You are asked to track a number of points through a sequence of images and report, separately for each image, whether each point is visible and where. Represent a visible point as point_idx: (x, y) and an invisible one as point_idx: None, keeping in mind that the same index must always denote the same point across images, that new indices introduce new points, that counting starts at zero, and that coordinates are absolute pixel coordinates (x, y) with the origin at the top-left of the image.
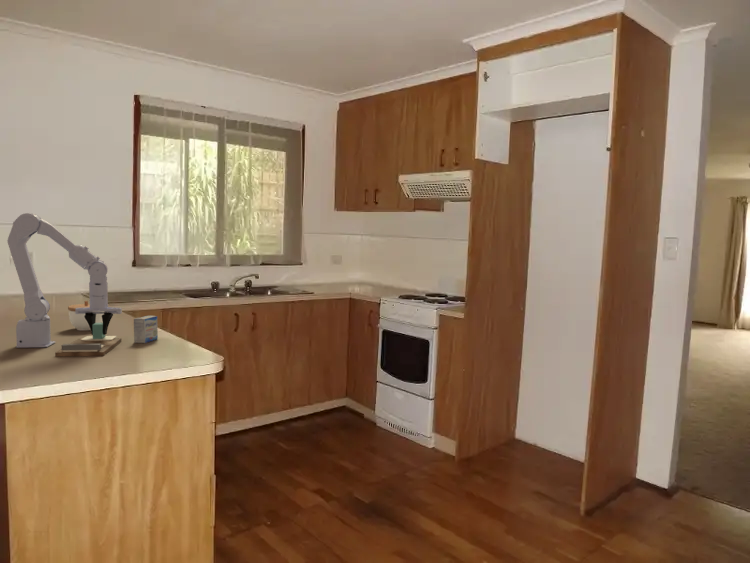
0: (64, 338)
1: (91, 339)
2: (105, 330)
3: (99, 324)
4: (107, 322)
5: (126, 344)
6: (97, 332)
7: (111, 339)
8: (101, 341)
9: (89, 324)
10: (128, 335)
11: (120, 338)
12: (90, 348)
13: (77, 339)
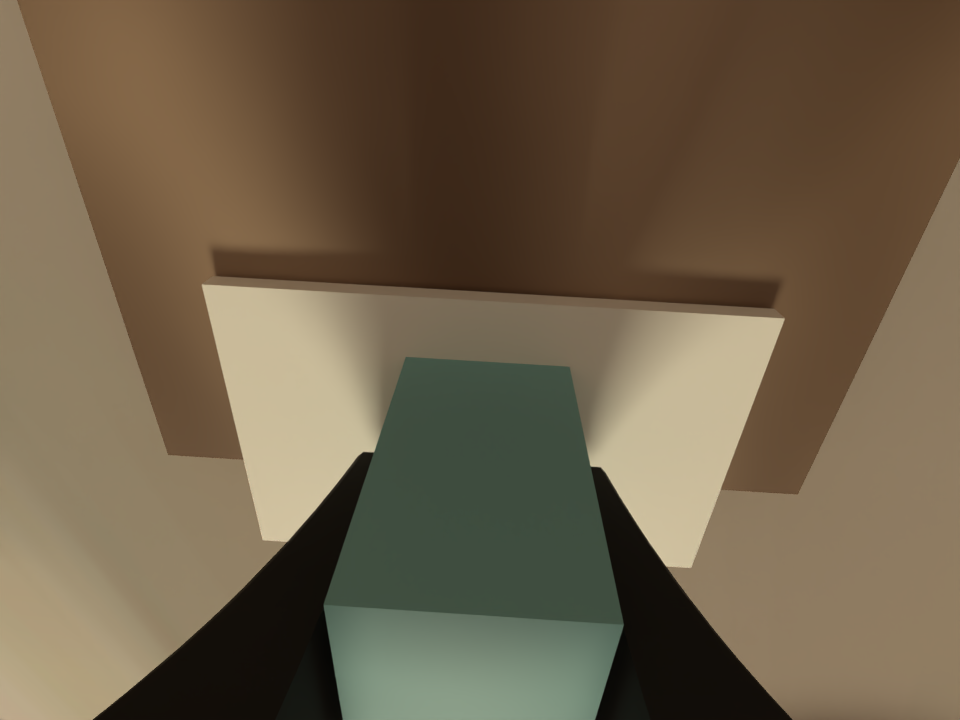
0: (922, 645)
1: (584, 319)
2: (319, 508)
3: (407, 627)
4: (142, 696)
5: (5, 222)
6: (478, 437)
7: (210, 285)
8: (385, 235)
9: (719, 659)
10: None
11: (175, 445)
12: None
13: (818, 446)
